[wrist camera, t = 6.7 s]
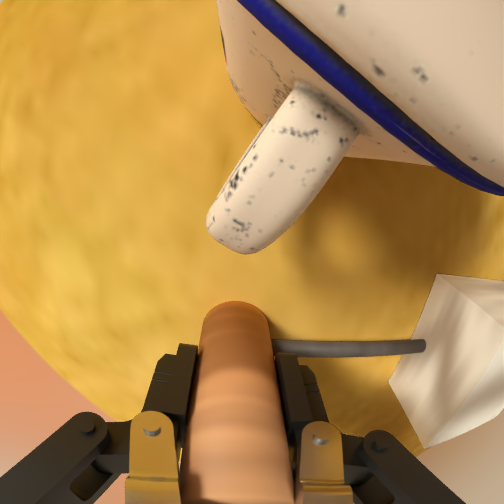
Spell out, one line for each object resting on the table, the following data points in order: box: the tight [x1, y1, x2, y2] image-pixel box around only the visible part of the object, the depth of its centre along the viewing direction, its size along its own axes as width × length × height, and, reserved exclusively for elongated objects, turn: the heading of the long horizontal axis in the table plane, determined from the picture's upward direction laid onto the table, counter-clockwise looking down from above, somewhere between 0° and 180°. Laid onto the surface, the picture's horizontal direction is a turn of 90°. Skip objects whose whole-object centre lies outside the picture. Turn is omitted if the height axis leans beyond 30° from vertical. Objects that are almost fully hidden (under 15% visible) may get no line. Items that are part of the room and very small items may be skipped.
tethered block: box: [179, 274, 504, 504], centre depth 10 cm, size 8×20×9 cm, turn 82°
